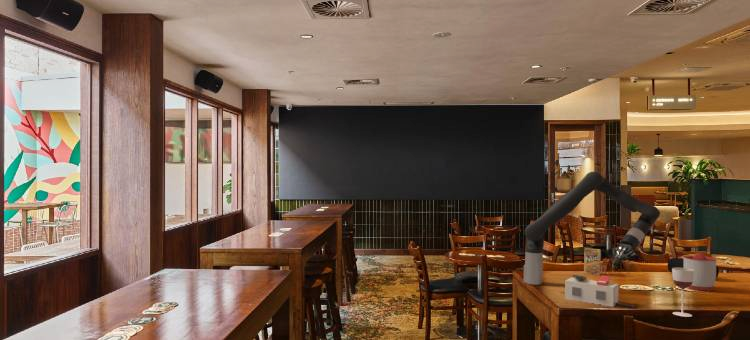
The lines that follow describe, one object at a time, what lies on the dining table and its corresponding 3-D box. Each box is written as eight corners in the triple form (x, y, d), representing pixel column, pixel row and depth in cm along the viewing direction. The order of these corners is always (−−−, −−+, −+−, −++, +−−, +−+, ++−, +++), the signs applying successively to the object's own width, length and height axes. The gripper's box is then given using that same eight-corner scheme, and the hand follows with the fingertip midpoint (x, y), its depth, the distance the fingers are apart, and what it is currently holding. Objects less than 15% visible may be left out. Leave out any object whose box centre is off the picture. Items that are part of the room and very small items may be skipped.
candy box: (583, 273, 319) (584, 248, 319) (585, 272, 323) (585, 247, 323) (599, 275, 315) (599, 250, 315) (600, 274, 318) (600, 249, 318)
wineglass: (667, 311, 234) (668, 267, 234) (685, 311, 235) (686, 267, 235) (678, 316, 226) (679, 270, 226) (697, 316, 227) (698, 270, 227)
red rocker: (596, 286, 247) (596, 282, 246) (601, 278, 254) (601, 274, 253) (605, 287, 244) (605, 283, 244) (610, 280, 251) (610, 275, 251)
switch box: (564, 299, 255) (564, 280, 254) (571, 295, 263) (571, 277, 263) (631, 310, 236) (632, 290, 236) (636, 305, 245) (636, 286, 245)
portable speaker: (666, 273, 324) (666, 257, 324) (674, 272, 329) (674, 256, 329) (711, 281, 303) (712, 264, 303) (719, 279, 308) (719, 262, 308)
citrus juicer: (714, 287, 287) (715, 251, 287) (718, 293, 272) (718, 255, 272) (681, 283, 294) (682, 248, 294) (683, 289, 279) (683, 252, 279)
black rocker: (572, 278, 253) (573, 274, 253) (578, 280, 260) (578, 276, 260) (581, 280, 250) (581, 275, 251) (586, 281, 257) (586, 277, 258)
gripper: (618, 232, 264) (599, 257, 259) (640, 235, 252) (621, 262, 247) (625, 242, 266) (607, 267, 261) (648, 246, 254) (629, 272, 249)
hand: (614, 264), depth 254 cm, fingers closed
